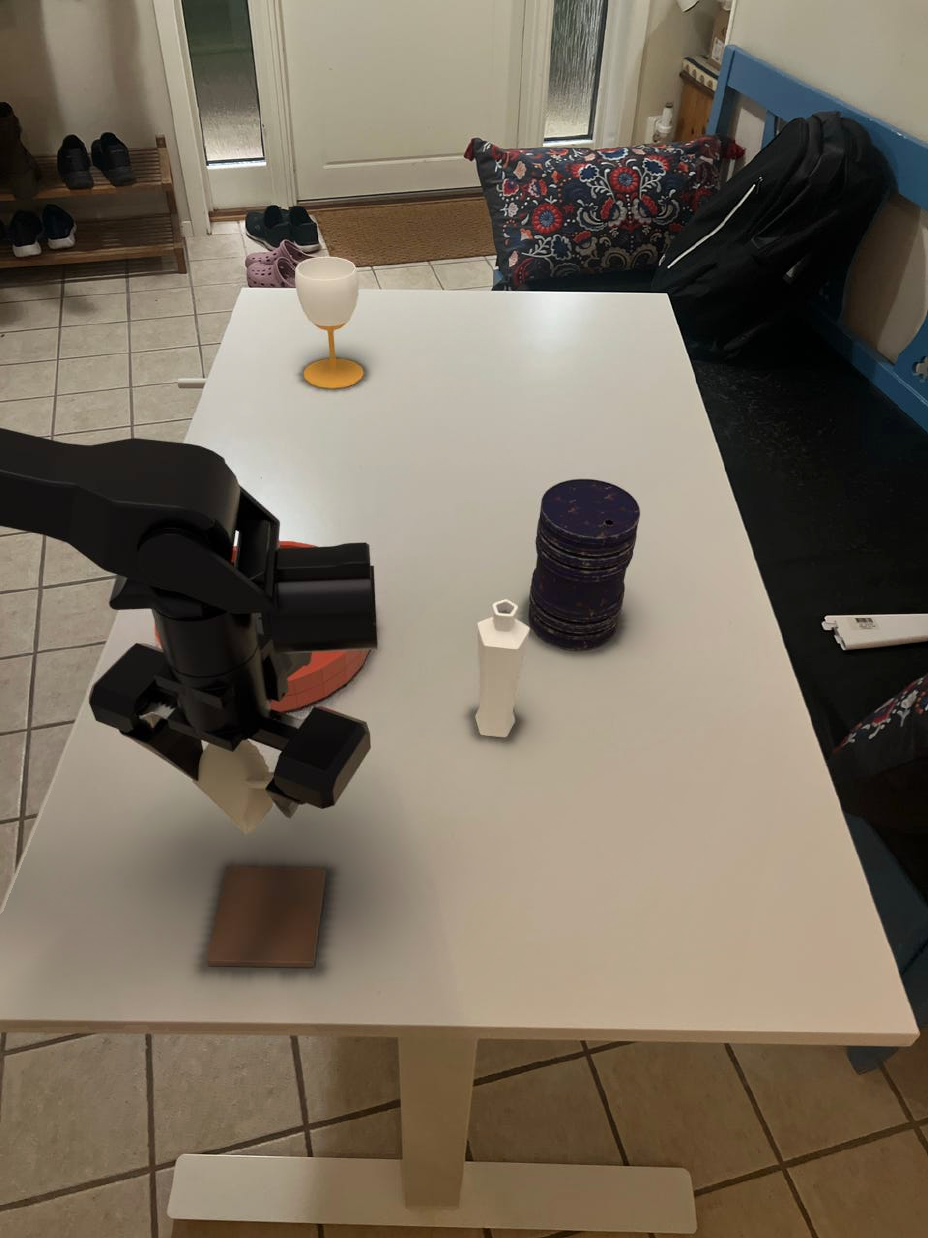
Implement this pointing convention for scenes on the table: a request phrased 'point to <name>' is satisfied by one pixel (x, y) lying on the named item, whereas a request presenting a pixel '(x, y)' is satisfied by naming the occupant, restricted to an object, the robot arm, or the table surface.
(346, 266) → the cup
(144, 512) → the robot arm
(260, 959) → the coaster
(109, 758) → the table surface
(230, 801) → the decorative ornament
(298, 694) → the bowl
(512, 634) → the perfume bottle
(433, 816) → the table surface
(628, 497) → the dark oil barrel
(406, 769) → the table surface
